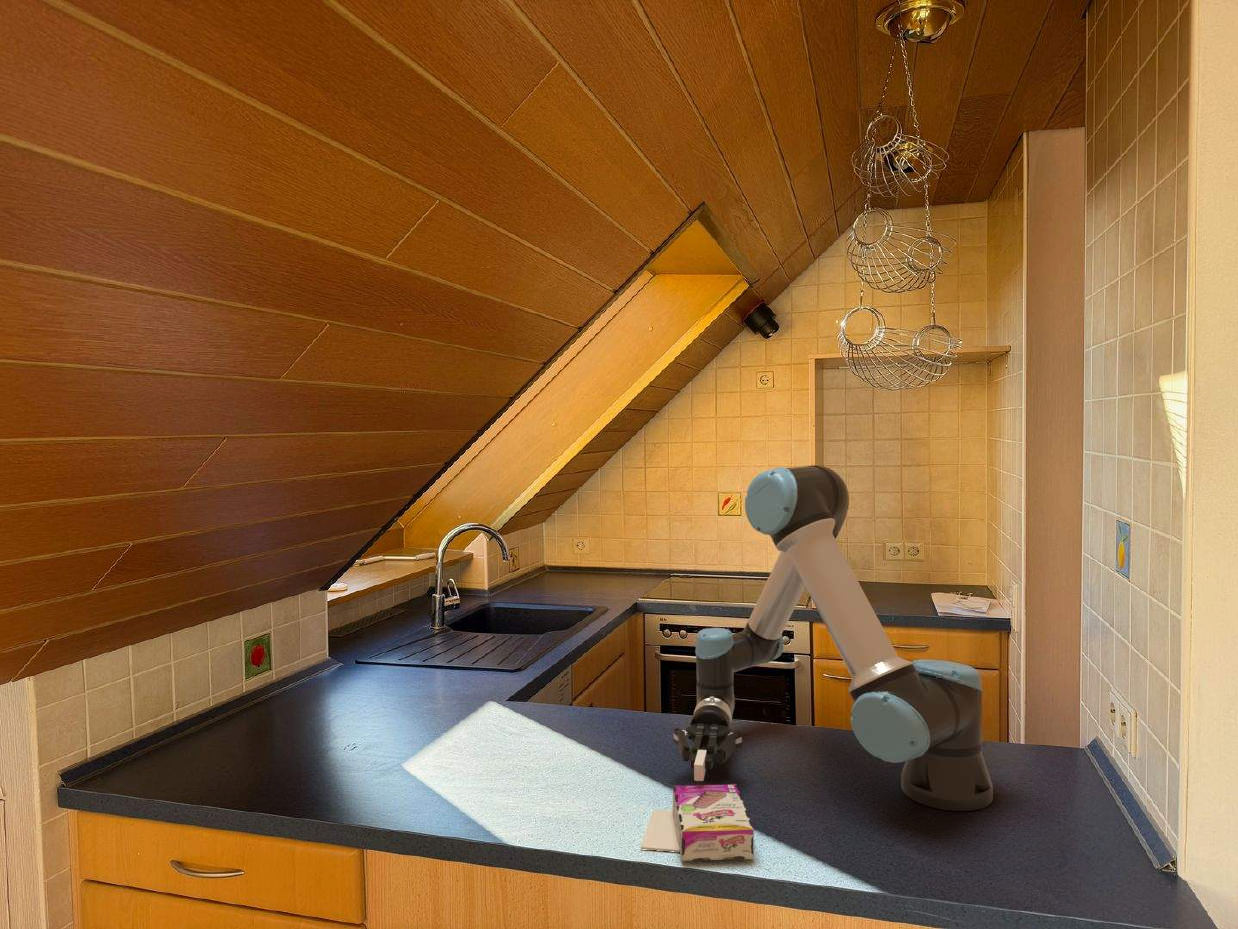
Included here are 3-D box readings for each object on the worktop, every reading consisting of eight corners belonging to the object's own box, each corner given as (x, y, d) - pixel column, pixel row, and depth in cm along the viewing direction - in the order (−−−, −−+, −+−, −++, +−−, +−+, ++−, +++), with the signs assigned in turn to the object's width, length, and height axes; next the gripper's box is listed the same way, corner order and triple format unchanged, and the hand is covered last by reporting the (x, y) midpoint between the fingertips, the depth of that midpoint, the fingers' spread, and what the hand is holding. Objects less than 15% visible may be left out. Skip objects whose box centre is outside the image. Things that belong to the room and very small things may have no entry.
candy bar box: (736, 781, 143) (755, 828, 126) (736, 810, 143) (755, 861, 127) (670, 783, 142) (681, 831, 126) (671, 812, 143) (681, 863, 126)
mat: (653, 812, 144) (653, 809, 144) (748, 818, 141) (748, 815, 141) (640, 850, 131) (640, 847, 131) (744, 858, 128) (744, 855, 128)
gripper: (677, 702, 165) (659, 748, 142) (744, 705, 162) (737, 753, 139) (678, 740, 165) (660, 792, 142) (745, 743, 163) (738, 797, 139)
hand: (698, 772), depth 141 cm, fingers closed
